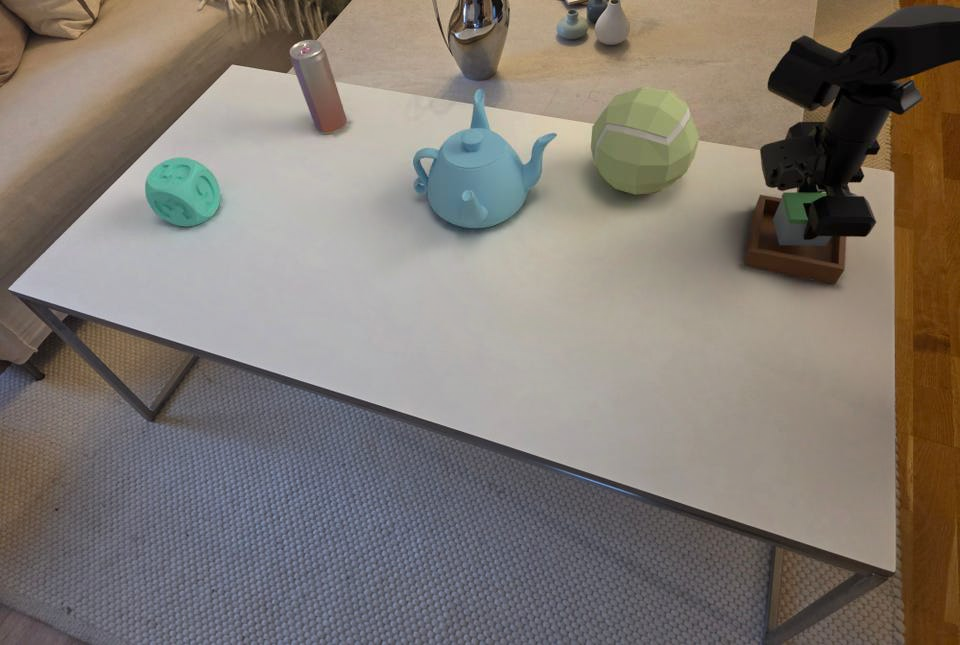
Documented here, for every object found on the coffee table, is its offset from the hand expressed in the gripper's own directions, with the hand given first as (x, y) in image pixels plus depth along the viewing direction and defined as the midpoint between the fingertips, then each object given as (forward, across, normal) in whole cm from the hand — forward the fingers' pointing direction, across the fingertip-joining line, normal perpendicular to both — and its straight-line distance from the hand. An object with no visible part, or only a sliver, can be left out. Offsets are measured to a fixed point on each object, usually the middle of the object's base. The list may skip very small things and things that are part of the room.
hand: (803, 224), depth 80 cm
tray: (+4, 0, 0) cm, 4 cm away
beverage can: (+4, -28, -76) cm, 81 cm away
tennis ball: (+4, -14, -21) cm, 25 cm away
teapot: (+4, -8, -45) cm, 46 cm away
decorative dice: (+4, -6, -94) cm, 94 cm away
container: (+2, 0, 0) cm, 2 cm away
